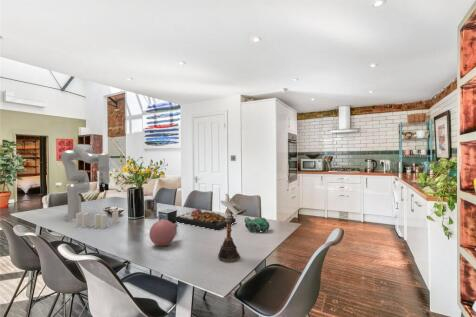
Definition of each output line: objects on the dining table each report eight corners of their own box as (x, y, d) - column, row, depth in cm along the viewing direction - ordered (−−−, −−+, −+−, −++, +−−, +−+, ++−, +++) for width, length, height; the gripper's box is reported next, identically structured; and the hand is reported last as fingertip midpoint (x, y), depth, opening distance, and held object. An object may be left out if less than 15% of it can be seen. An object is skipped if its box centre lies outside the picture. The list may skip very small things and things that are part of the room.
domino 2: (81, 227, 179) (81, 214, 179) (87, 225, 184) (87, 212, 184) (83, 227, 179) (83, 214, 178) (89, 225, 183) (89, 212, 183)
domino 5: (112, 225, 188) (112, 212, 188) (116, 223, 193) (116, 211, 193) (114, 225, 187) (114, 212, 187) (118, 223, 192) (118, 211, 192)
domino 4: (100, 228, 175) (100, 215, 175) (105, 227, 180) (105, 213, 180) (102, 229, 175) (102, 215, 175) (107, 227, 180) (107, 214, 180)
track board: (71, 228, 178) (71, 227, 178) (81, 225, 187) (81, 224, 187) (102, 231, 173) (102, 230, 173) (111, 227, 182) (111, 226, 182)
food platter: (174, 222, 198) (174, 210, 198) (194, 216, 219) (194, 205, 219) (218, 231, 175) (218, 217, 175) (235, 223, 196) (235, 211, 196)
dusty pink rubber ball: (186, 242, 151) (186, 218, 151) (159, 252, 135) (160, 225, 135) (170, 237, 160) (170, 214, 160) (144, 246, 144) (144, 220, 144)
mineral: (249, 235, 164) (249, 221, 164) (241, 229, 179) (241, 216, 179) (272, 232, 171) (273, 219, 171) (262, 226, 186) (262, 214, 186)
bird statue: (252, 257, 129) (253, 192, 129) (241, 266, 118) (241, 196, 118) (227, 250, 137) (227, 190, 137) (213, 259, 126) (214, 193, 126)
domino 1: (75, 226, 180) (75, 213, 180) (81, 225, 185) (81, 212, 185) (77, 227, 180) (77, 213, 180) (83, 225, 185) (83, 212, 185)
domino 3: (94, 228, 177) (94, 215, 177) (99, 226, 182) (99, 213, 181) (96, 228, 176) (96, 215, 176) (101, 226, 181) (101, 213, 181)
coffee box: (157, 217, 214) (157, 199, 213) (153, 219, 207) (154, 200, 207) (147, 216, 214) (147, 199, 214) (143, 218, 208) (144, 200, 208)
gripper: (104, 169, 178) (105, 192, 178) (112, 168, 195) (113, 189, 195) (93, 169, 177) (94, 192, 177) (102, 169, 194) (103, 190, 194)
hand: (104, 191), depth 186 cm, fingers open, 9 cm apart
